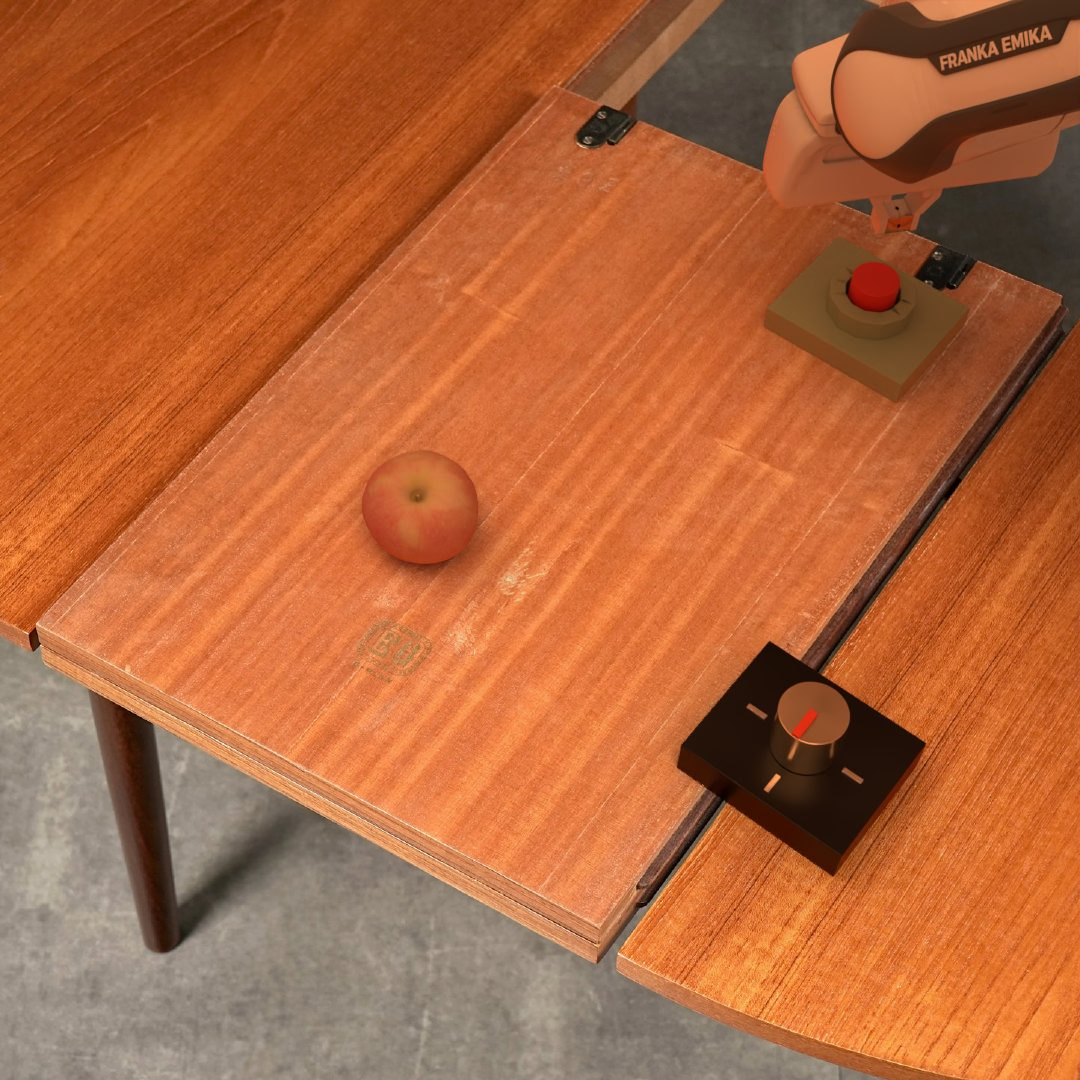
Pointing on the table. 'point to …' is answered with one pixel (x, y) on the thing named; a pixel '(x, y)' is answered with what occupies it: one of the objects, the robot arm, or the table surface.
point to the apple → (421, 507)
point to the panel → (782, 795)
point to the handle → (809, 728)
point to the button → (874, 286)
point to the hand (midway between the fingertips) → (892, 226)
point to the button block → (865, 322)
